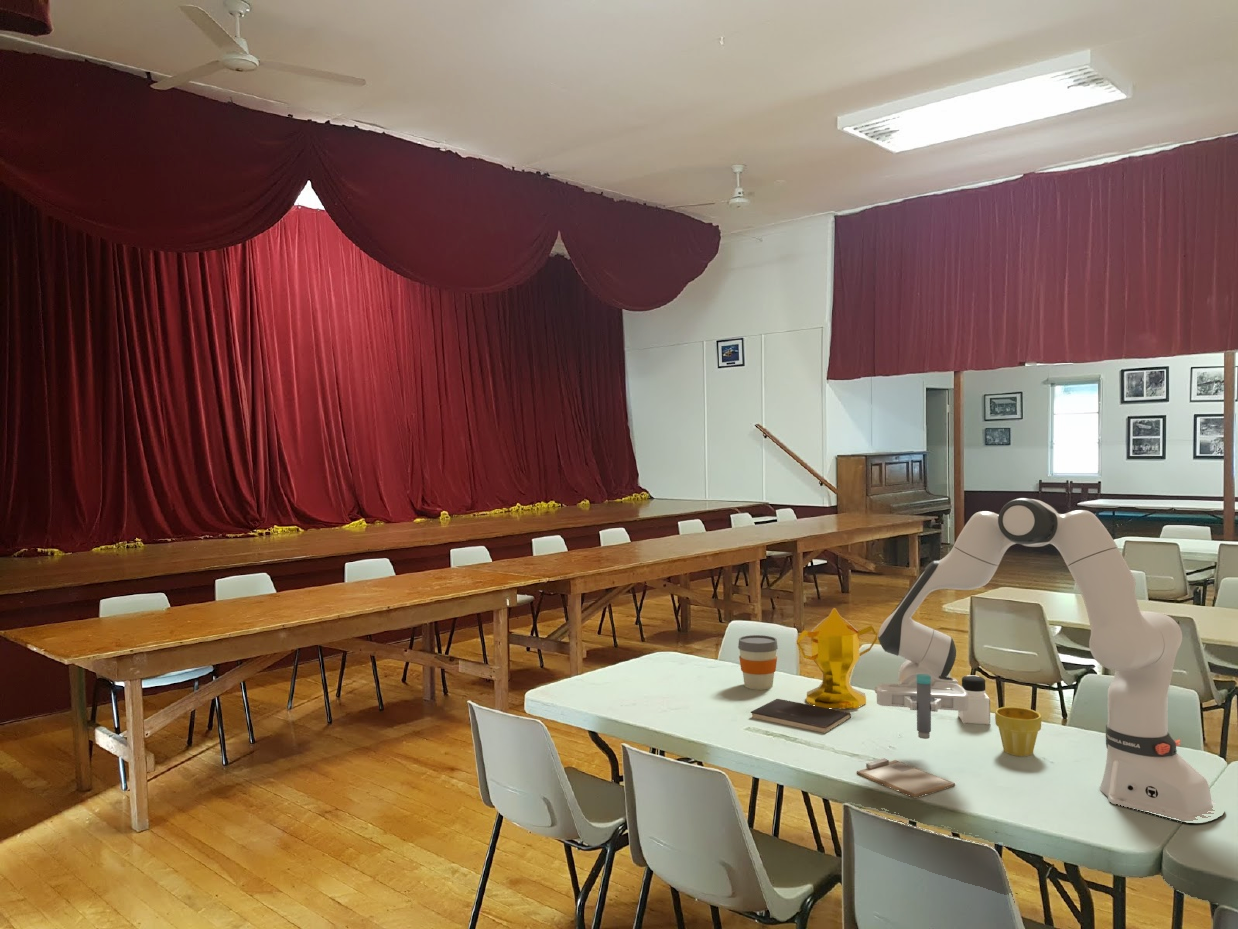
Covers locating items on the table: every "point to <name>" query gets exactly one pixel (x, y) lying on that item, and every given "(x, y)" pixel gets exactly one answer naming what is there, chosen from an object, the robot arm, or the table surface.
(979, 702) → the medicine bottle
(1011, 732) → the plant pot
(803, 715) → the hardcover book
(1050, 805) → the table surface
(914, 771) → the clipboard
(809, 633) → the trophy cup
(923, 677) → the marker
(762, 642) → the reusable coffee cup
